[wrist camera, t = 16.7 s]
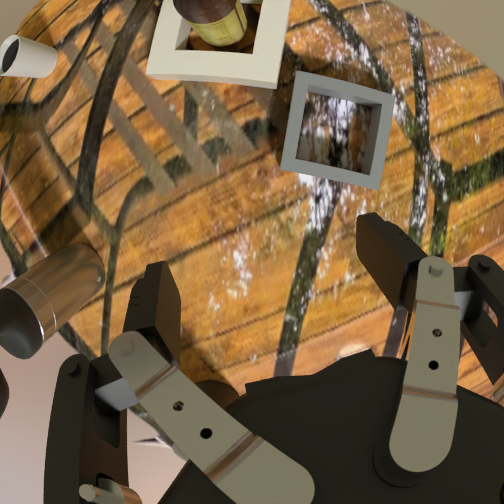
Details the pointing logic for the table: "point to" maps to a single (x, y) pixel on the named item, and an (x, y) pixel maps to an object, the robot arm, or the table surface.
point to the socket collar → (220, 63)
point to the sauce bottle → (214, 20)
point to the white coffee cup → (26, 58)
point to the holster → (376, 134)
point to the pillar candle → (218, 394)
